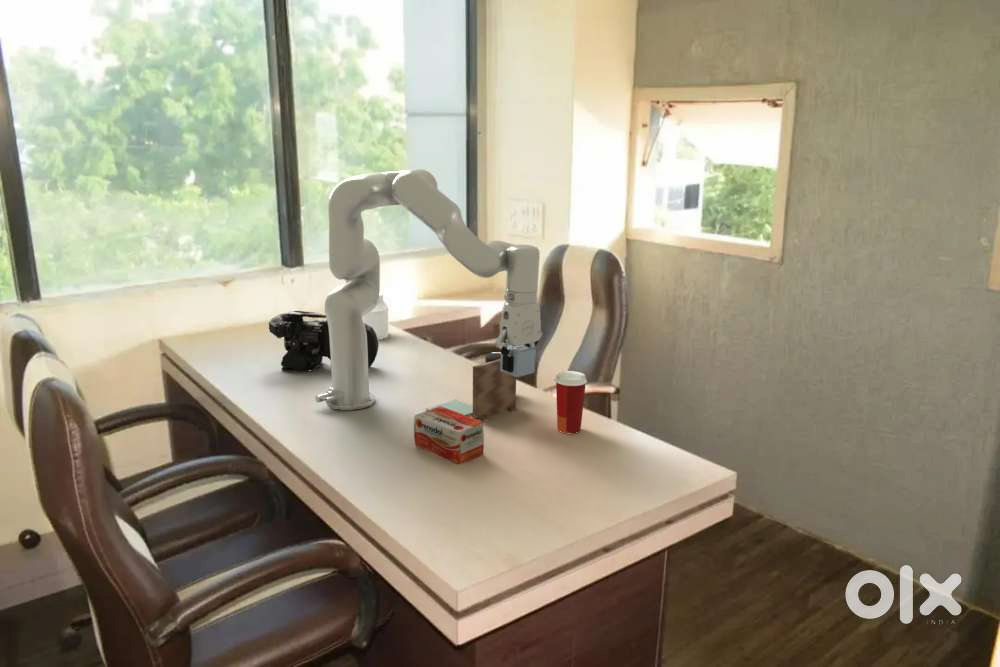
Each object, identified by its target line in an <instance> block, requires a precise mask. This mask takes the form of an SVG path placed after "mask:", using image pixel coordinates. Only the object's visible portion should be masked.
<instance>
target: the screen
mask: <svg viewBox="0 0 1000 667" xmlns="http://www.w3.org/2000/svg"><path fill="white" fill-rule="evenodd" d="M500 361H501V359H498V360H494V361H491V362H487V363H485V362H483V363H480V364H477V365H473V366H472V406H473V413H472V415H471V418H474V419H477V420H480V421H482V422H484V421H487V420H489V417H492V416H494V415H497V414H499V413H503V412H506V411H508V412H514V411H517V409H518V408H517V406H518V405H516V404H517V402H516V400H517V377H515V376H512V375H510V374H507V373H504V372H502V371H500Z"/></svg>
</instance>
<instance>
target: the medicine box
mask: <svg viewBox="0 0 1000 667" xmlns="http://www.w3.org/2000/svg"><path fill="white" fill-rule="evenodd" d="M413 422H414V424H413V436H414V437H413V439H414V446H415V447H417V448H419V449H421V450H424V451H426V452H429V453H430V454H433V455H435V456H438V457H439V458H442V459H444V460H447V461H449V462H451V463H453V464H456V465H461V464H462V465H463V463H466V462H468V461H471V460H473V459H475V458H477V457H480V456H482V455H484V449H485V447H484V446H485V436H484V434H485V433H484V432H485V431H484V421H481V420H477V419H474V418H473V417H472V416H466V415H463V414H461V413H458V412H455V411H452V410H449V409H447V408H444V407H441V406H439V407H436V408H434V409H431V410H428V411H426V410H425V411H423V412H419V413H416V414H415V415H414V421H413Z"/></svg>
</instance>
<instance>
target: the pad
mask: <svg viewBox="0 0 1000 667" xmlns="http://www.w3.org/2000/svg"><path fill="white" fill-rule="evenodd" d="M439 406H441V407H444V408H447V409H449V410H452V411H455V412H458V413H461V414H463V415H466V416H469V417H471V416H472V413H473V405H471V404H468V403H465V402H463V401H460V400H459V399H454V400H449V401H447V402H444V403H440V404H436V405H434V406H431V407H427V408H425V411H428V410H431V409H434V408H436V407H439Z"/></svg>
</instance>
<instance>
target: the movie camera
mask: <svg viewBox="0 0 1000 667" xmlns="http://www.w3.org/2000/svg"><path fill="white" fill-rule="evenodd" d="M304 317H305V318H307V317H308V318H312V319H314V318H316V320H311V321H310V320H308V321H306V320H304ZM319 318H320V319H326V320H318V319H319ZM364 326H365V329H366V334H367V351H368V370H369V369H370V368H371V367H372V365H373V363H374V362H375V361H376V358H377V356H378V352H379V340H378V339H377V335H376V333H375V331H374V329H373V328H372V327H371V326H369V325H366V324H364ZM268 329H269V332H270V333H271V334H272V335H273V336H274V337H276V339H282V338H284V339H283V345H284V348H285V351H287V352H286V353H285V354H284V355H283V356H282V358H281V359H282V360H281V362H280V365H281V370H282V371H287V372H288V371H289V372H290V371H291V372H293V371H295V372H296V371H297V372H310V371H309V370H313V369H315V370H316V369H317V368H319V366H320V364H322V362H323V358H324V357H325V358H328V359H329V361H331V354H330V338H329V328H328V322H327V318H326V314H325V312H317V311H304V310H303V311H302V310H294V311H293V310H292V311H291V310H290V311H282V312H280V313H278V314H277V315H276V316H274V317H272V318H271V319H270V321H268ZM313 371H314V370H313Z"/></svg>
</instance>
